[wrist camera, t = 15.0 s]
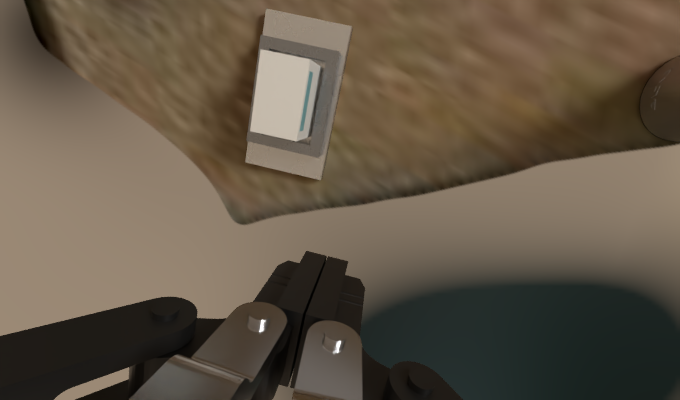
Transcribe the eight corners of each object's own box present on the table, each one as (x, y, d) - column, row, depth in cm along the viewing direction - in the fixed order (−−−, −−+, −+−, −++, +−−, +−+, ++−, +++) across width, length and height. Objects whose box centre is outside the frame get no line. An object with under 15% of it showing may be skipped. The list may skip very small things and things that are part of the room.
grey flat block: (352, 28, 39) (350, 21, 36) (322, 178, 44) (317, 183, 41) (269, 11, 40) (259, 3, 37) (248, 160, 45) (238, 164, 42)
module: (323, 68, 39) (310, 59, 33) (310, 136, 42) (296, 141, 35) (281, 59, 40) (260, 49, 33) (271, 127, 42) (249, 131, 35)
